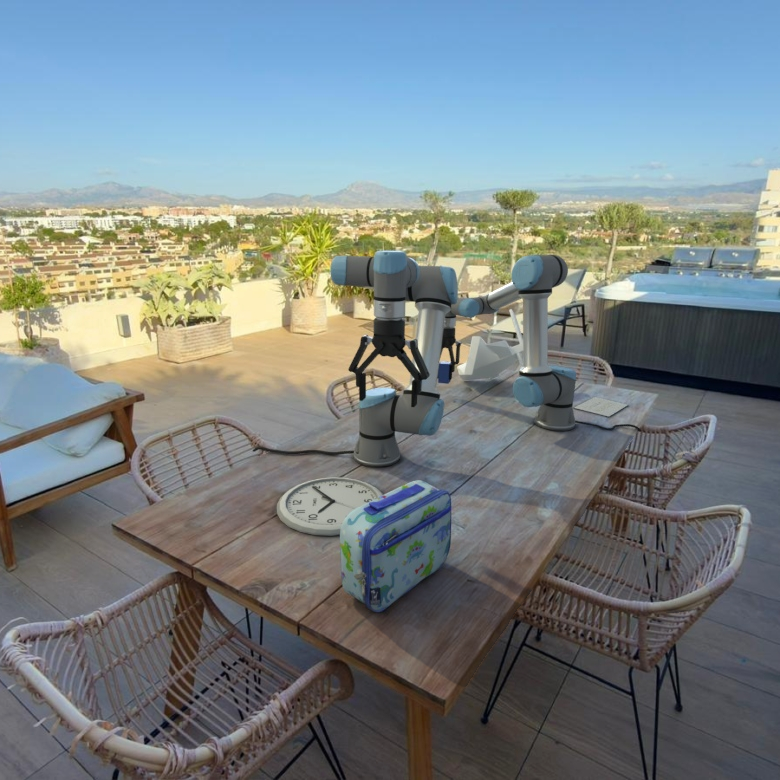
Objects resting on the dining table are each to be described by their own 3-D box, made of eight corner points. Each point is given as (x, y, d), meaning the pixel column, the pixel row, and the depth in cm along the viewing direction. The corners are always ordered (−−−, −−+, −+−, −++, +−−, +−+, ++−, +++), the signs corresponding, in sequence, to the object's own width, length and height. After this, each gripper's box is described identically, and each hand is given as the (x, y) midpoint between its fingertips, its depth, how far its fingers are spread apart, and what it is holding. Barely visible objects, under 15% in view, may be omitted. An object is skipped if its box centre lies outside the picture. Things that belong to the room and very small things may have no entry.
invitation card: (608, 416, 214) (573, 407, 224) (608, 416, 214) (573, 408, 224) (628, 404, 229) (594, 396, 238) (628, 405, 229) (594, 397, 238)
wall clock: (392, 527, 129) (268, 531, 127) (391, 533, 130) (269, 537, 127) (383, 473, 158) (282, 475, 155) (383, 478, 158) (282, 480, 156)
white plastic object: (478, 423, 260) (457, 400, 235) (460, 349, 282) (438, 321, 257) (551, 399, 247) (536, 372, 223) (525, 323, 270) (510, 291, 245)
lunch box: (369, 626, 100) (370, 530, 93) (334, 598, 107) (332, 507, 101) (455, 567, 117) (460, 483, 111) (419, 547, 124) (423, 467, 118)
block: (438, 382, 233) (438, 363, 231) (440, 380, 238) (441, 360, 235) (448, 383, 232) (449, 364, 229) (450, 381, 236) (451, 361, 234)
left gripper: (334, 316, 125) (336, 401, 131) (436, 324, 117) (432, 413, 124) (347, 312, 131) (347, 392, 138) (444, 319, 124) (440, 403, 130)
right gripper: (424, 326, 227) (423, 378, 234) (465, 329, 221) (462, 382, 228) (429, 324, 234) (427, 374, 240) (468, 326, 228) (465, 378, 235)
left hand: (387, 402), depth 131 cm, fingers open, 13 cm apart
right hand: (444, 378), depth 234 cm, fingers closed on block, 5 cm apart
